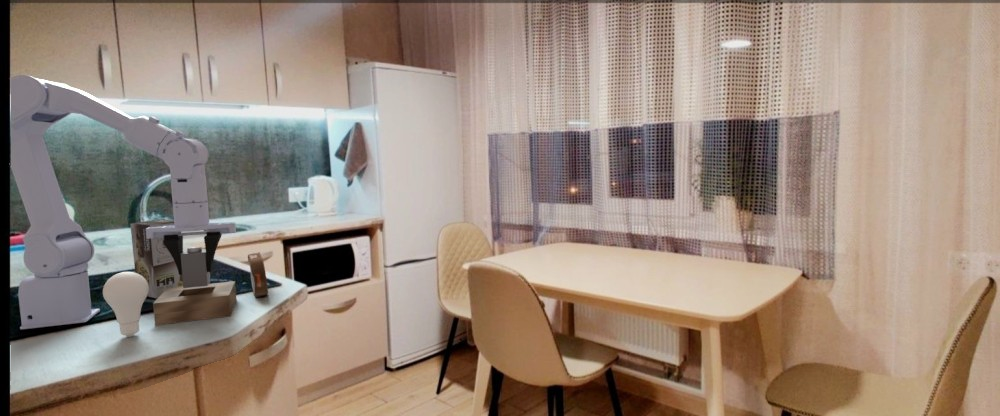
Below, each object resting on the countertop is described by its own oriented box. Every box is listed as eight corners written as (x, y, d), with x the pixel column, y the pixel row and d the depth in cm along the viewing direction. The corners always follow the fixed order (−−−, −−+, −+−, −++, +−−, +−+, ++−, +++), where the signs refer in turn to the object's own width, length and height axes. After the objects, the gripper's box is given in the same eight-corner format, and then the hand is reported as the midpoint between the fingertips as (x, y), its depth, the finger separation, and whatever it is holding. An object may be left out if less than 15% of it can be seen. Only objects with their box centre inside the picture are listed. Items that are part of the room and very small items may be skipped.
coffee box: (187, 292, 113) (181, 220, 111) (155, 299, 107) (149, 224, 106) (167, 287, 118) (161, 218, 116) (135, 294, 112) (129, 222, 111)
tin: (269, 299, 106) (266, 260, 105) (252, 301, 105) (250, 261, 104) (263, 284, 119) (261, 249, 118) (248, 286, 118) (246, 250, 117)
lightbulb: (111, 334, 86) (104, 270, 85) (154, 328, 89) (148, 266, 88) (104, 345, 80) (97, 278, 79) (150, 338, 83) (144, 273, 82)
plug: (183, 288, 95) (180, 250, 94) (187, 283, 99) (184, 247, 98) (207, 285, 97) (204, 248, 96) (210, 281, 100) (207, 245, 100)
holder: (154, 325, 90) (153, 303, 90) (169, 307, 101) (167, 287, 101) (230, 316, 95) (229, 295, 94) (236, 299, 106) (235, 281, 105)
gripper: (139, 205, 89) (145, 281, 91) (231, 201, 95) (236, 272, 96) (149, 203, 96) (155, 273, 97) (234, 199, 101) (239, 265, 103)
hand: (196, 272), depth 97 cm, fingers closed on plug, 4 cm apart
